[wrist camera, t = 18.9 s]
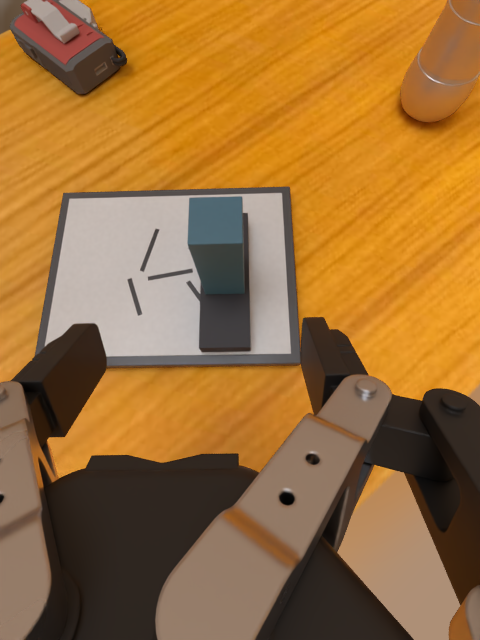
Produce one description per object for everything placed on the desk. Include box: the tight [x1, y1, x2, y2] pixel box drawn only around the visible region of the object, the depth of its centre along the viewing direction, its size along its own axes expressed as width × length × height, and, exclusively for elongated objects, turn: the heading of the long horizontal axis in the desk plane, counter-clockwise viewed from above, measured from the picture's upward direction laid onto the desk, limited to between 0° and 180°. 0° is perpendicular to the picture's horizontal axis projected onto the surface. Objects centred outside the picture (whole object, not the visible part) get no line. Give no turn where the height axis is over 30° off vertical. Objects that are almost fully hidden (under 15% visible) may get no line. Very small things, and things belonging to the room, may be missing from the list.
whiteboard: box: [35, 187, 301, 368], centre depth 29 cm, size 17×22×1 cm
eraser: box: [187, 196, 251, 352], centre depth 23 cm, size 12×4×10 cm, turn 1°
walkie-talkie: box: [10, 0, 127, 94], centre depth 37 cm, size 9×4×20 cm
